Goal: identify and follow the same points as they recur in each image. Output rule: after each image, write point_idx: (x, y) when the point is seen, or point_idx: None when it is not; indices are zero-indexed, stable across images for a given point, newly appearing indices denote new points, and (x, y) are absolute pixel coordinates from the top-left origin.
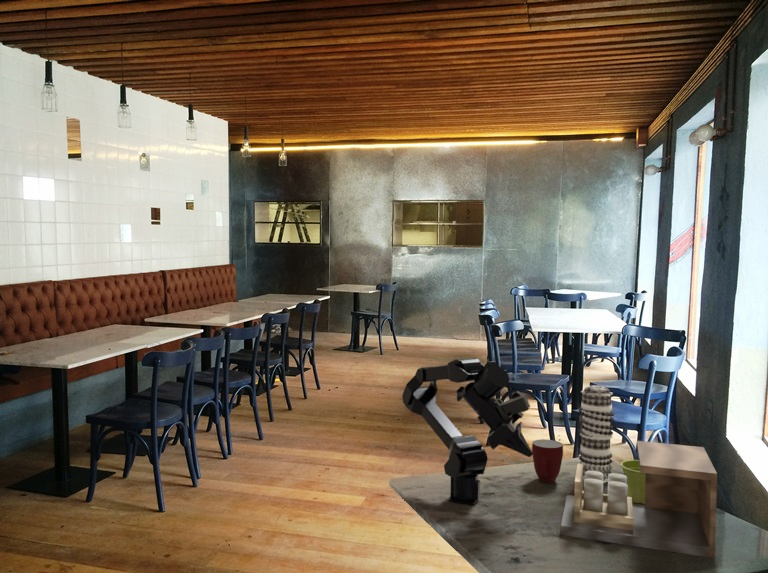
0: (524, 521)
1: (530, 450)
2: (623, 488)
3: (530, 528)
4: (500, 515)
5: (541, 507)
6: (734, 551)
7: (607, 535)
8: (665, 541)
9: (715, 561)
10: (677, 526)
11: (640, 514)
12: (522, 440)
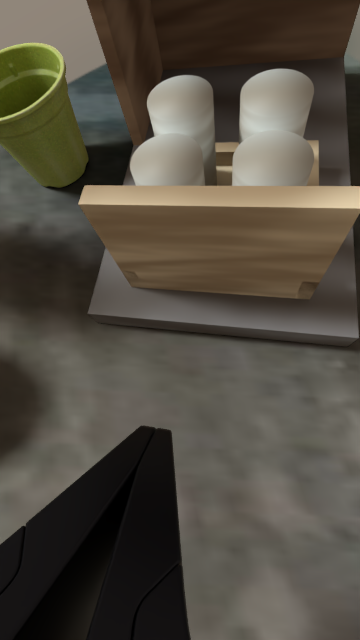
0: (279, 463)
1: (145, 448)
2: (306, 79)
3: (334, 443)
4: (250, 563)
5: (142, 398)
6: None
7: None
8: (345, 116)
9: (351, 73)
10: None
11: None
12: (167, 616)
